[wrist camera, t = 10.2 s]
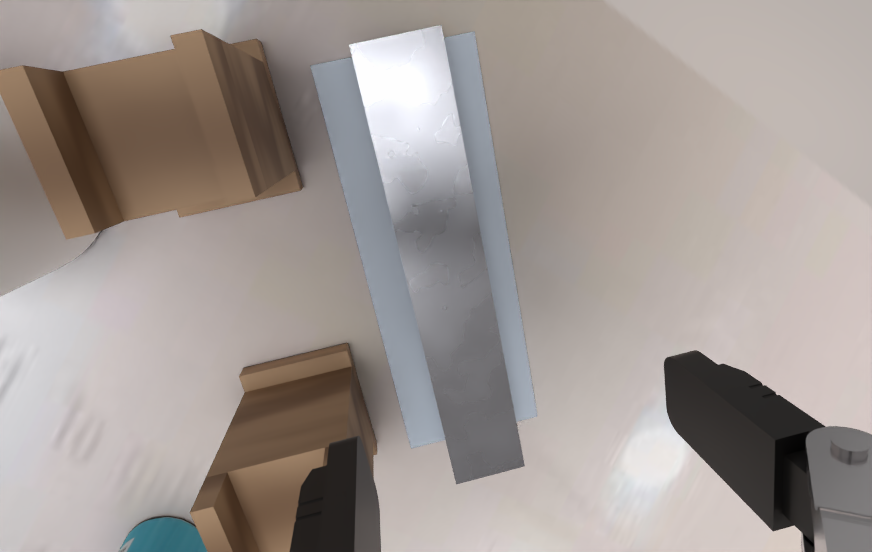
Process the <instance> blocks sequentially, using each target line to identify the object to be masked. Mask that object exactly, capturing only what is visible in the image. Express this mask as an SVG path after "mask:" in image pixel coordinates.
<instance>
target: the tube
mask: <svg viewBox="0 0 872 552" xmlns="http://www.w3.org/2000/svg"><path fill="white" fill-rule="evenodd" d="M119 552H207V549H206V547H205V545H204V543H203V541H202V538H201V536H200V534H199V532H198V530H197V528H196V527H195V526H193V525H192V524H190V523H188V522H186V521H184V520H182V519H178V518H171V517H162V518H156V519H151V520H147V521H145V522H143V523H141V524H139V525H138V526H136V527H135V528H134V529H133V530H132V531H131V532H130V533H129V534H128V536H127V537H126V539H125V541H124V543H123V544H122V546H121V548H120V550H119Z"/></svg>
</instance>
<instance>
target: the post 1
mask: <svg viewBox="0 0 872 552" xmlns="http://www.w3.org/2000/svg"><path fill="white" fill-rule="evenodd" d="M171 39H172V42H173V45H174V48H175V49H172V50H167V51H162V52H157V53H152V54H148V55H143V56H138V57H133V58H128V59H123V60H118V61H113V62H108V63H103V64H99V65H94V66H89V67H84V68H79V69H74V70H69V71H64V72H61V71H55V70H48V69H42V68H35V67H29V66H18V67H13V68H8V69H3V70H0V95H1V97H2V99H3V101H4V104H5V106H6V108H7V110H8V113H9V115H10V117H11V119H12V121H13V124H14V126H15V128H16V130H17V132H18V135H19V137H20V139H21V141H22V143H23V146H24V148H25V150H26V152H27V154H28V157H29V159H30V161H31V163H32V165H33V168H34V170H35V172H36V174H37V176H38V179H39V181H40V183H41V185H42V188H43V190H44V192H45V194H46V196H47V199H48V201H49V203H50V205H51V207H52V210H53V212H54V214H55V216H56V218H57V221H58V223H59V225H60V227H61V229H62V232H63V234H64V236H65V238H66V240H67V239H72V238H76V237H81V236H85V235H90V234H94V233H97V232H99V231H102V230H104V229H107V228H109V227H111V226H114V225H116V224H119V223H121V222H123V221H127V220H132V219H136V218H141V217H145V216H150V215H154V214H159V213H163V212H168V211H172V210H177V212H178V215H179V217H184V216H189V215H193V214H198V213H202V212H207V211H211V210H216V209H220V208H224V207H229V206H233V205H238V204H242V203H247V202H251V201H256V200H260V199H265V198H269V197H274V196H278V195H283V194H287V193H292V192H296V191H301V190H302V189H303V186H302V182H301V179H300V176H299V172H298V169H297V165H296V162H295V158H294V155H293V151H292V148H291V144H290V141H289V137H288V134H287V130H286V127H285V124H284V120H283V117H282V113H281V110H280V106H279V103H278V99H277V96H276V92H275V89H274V85H273V82H272V78H271V75H270V72H269V68H268V65H267V61H266V58H265V54H264V51H263V47H262V44H261V42H260V41H259V40H257V39H253V40H248V41H243V42H238V43H234V44H228V43H226V42H224V41H222V40H220V39H219V38H217V37H215V36H213V35H211V34H209V33H207V32H205V31H204V30H202V29H201V30H196V31H191V32H186V33H181V34H176V35H171Z"/></svg>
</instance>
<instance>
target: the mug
mask: <svg viewBox="0 0 872 552" xmlns="http://www.w3.org/2000/svg"><path fill="white" fill-rule="evenodd" d="M99 232H100V231H99ZM99 232H97V233H94V234H90V235H85V236H81V237H76V238H72V239H67V240H66V238H65V236H64V234H63V232H62V229H61V227H60V225H59V223H58V221H57V218H56V216H55V214H54V212H53V210H52V207H51V205H50V203H49V201H48V199H47V196H46V194H45V192H44V190H43V188H42V185H41V183H40V181H39V179H38V176H37V174H36V172H35V170H34V168H33V165H32V163H31V161H30V159H29V157H28V154H27V152H26V150H25V148H24V146H23V143H22V141H21V139H20V137H19V135H18V132H17V130H16V128H15V126H14V124H13V121H12V119H11V117H10V115H9V113H8V110H7V108H6V106H5V104H4V101H3V99H2V97H1V95H0V296H2V295H5V294H7V293H9V292H11V291H13V290H15V289H17V288H19V287H21V286H23V285H25V284H27V283H30V282H32V281H34V280H36V279H38V278H40V277H42V276H44V275H46V274H48V273H50V272H52V271H54V270H56V269H58V268H60V267H62V266H64V265H65V264H67V263H69V262H70V261H72V260H74V259H75V258H77V257H78V256H79V255H80V254H82V253H83V252H84V251H85V250H86V249H87V248H88V247H89V246H90V245H91V243H92V242H93V241H94V240H95V238H96V237H97V235H98V234H99Z"/></svg>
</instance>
